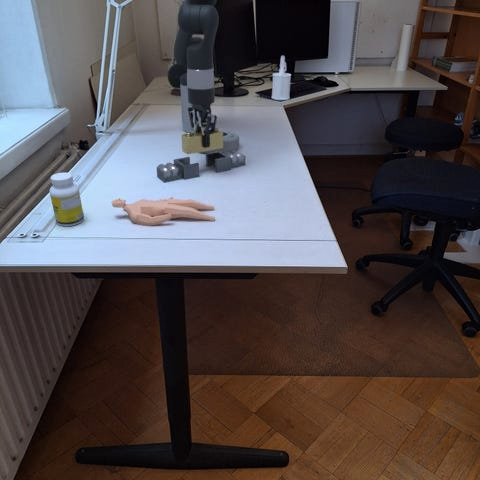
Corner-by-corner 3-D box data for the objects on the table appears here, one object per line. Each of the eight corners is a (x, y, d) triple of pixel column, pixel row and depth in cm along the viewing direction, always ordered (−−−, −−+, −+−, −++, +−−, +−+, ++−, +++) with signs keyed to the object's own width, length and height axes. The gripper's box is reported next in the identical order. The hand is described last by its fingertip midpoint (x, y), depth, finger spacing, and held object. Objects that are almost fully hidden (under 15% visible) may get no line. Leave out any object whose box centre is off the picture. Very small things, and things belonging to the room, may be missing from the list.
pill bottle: (60, 215, 110) (50, 171, 104) (87, 214, 110) (79, 170, 104) (53, 227, 104) (42, 181, 98) (81, 227, 105) (72, 181, 99)
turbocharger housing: (247, 151, 157) (218, 142, 166) (249, 133, 154) (219, 124, 163) (213, 159, 146) (183, 149, 155) (213, 140, 143) (183, 130, 152)
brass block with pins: (182, 151, 131) (181, 131, 129) (217, 144, 137) (217, 126, 134) (187, 154, 129) (186, 134, 126) (223, 147, 135) (223, 129, 132)
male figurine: (215, 213, 105) (107, 207, 102) (214, 231, 107) (108, 226, 104) (214, 194, 114) (115, 189, 111) (213, 211, 116) (116, 207, 114)
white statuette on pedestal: (272, 95, 229) (274, 54, 219) (290, 96, 228) (292, 54, 218) (270, 100, 220) (272, 57, 210) (289, 101, 219) (292, 57, 209)
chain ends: (155, 175, 133) (154, 163, 131) (235, 159, 146) (235, 147, 144) (165, 183, 127) (164, 170, 125) (247, 166, 140) (247, 154, 138)
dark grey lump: (169, 91, 236) (167, 61, 229) (193, 90, 237) (192, 60, 230) (168, 96, 225) (166, 65, 217) (194, 96, 226) (193, 65, 219)
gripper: (225, 88, 120) (225, 149, 129) (200, 80, 131) (202, 137, 139) (200, 91, 117) (203, 154, 125) (177, 82, 127) (181, 141, 136)
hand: (202, 145), depth 132 cm, fingers closed on brass block with pins, 3 cm apart
